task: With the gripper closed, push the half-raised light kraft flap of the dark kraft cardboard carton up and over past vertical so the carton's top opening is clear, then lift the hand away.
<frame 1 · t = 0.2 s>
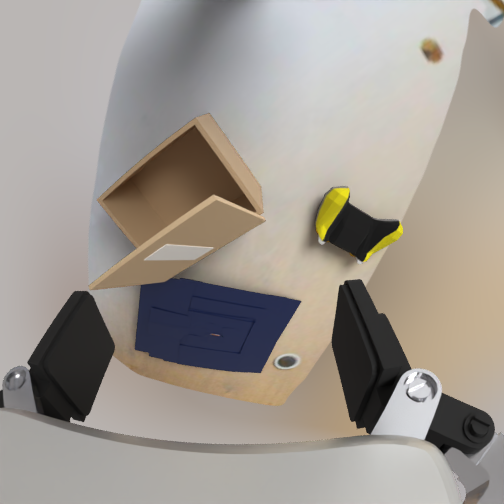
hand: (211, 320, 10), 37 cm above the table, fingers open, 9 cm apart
carton: (191, 180, 45), on the table
gaming controller: (350, 219, 49), on the table
flap: (181, 251, 31), point 17 cm above the table, hinge at 55.0°
folded navy cloth: (211, 323, 60), on the table
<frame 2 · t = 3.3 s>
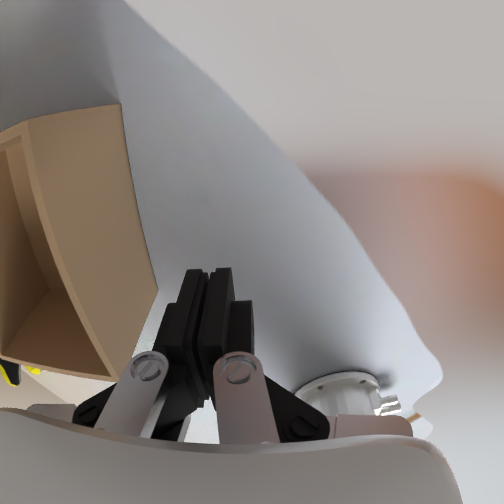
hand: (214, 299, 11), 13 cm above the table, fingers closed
carton: (71, 214, 23), on the table
gaming controller: (17, 336, 33), on the table
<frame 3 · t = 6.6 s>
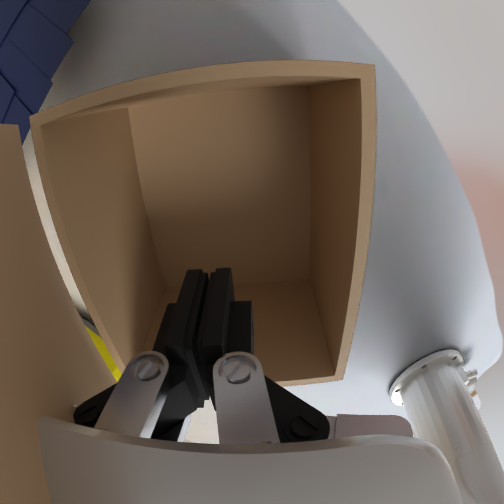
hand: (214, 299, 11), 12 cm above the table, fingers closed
carton: (225, 195, 22), on the table
gaming controller: (83, 344, 32), on the table
flap: (70, 394, 7), point 17 cm above the table, hinge at 57.6°, touching gripper
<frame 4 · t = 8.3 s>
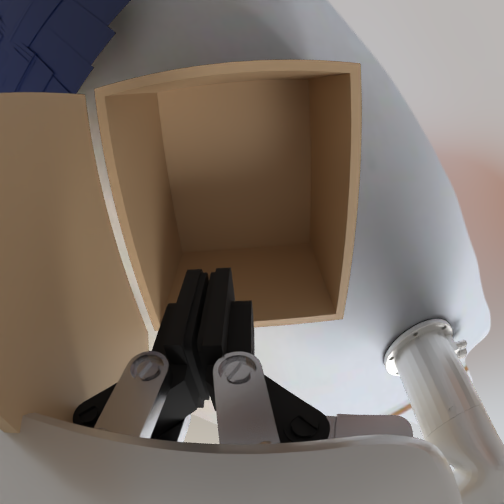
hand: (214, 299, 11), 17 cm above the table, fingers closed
carton: (239, 168, 26), on the table
flap: (87, 307, 10), point 18 cm above the table, hinge at 75.0°, touching gripper
folded navy cloth: (7, 72, 18), on the table
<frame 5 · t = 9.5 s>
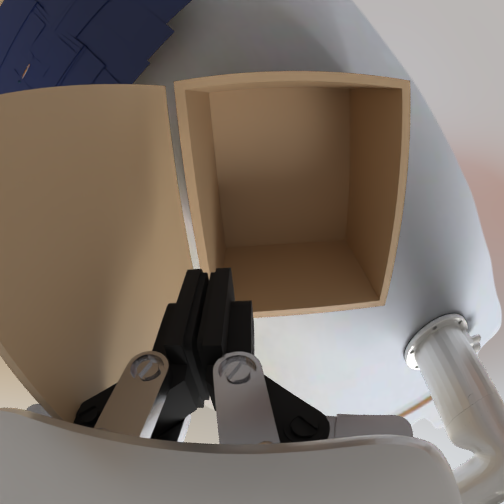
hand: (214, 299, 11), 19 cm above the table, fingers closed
carton: (284, 168, 28), on the table
flap: (140, 289, 12), point 18 cm above the table, hinge at 92.4°, touching gripper
folded navy cloth: (46, 63, 21), on the table
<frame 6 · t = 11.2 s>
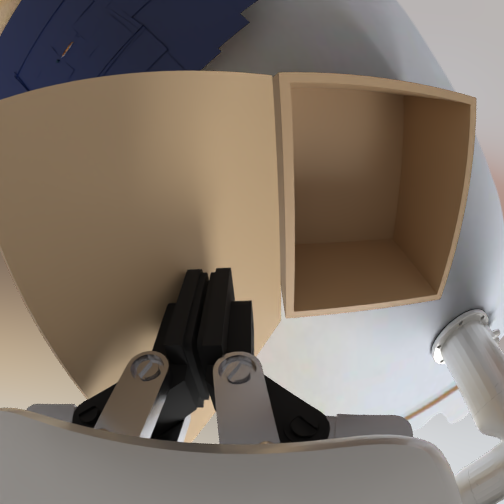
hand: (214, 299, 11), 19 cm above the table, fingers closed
carton: (342, 168, 27), on the table
flap: (204, 277, 13), point 17 cm above the table, hinge at 119.5°, touching gripper
folded navy cloth: (87, 44, 20), on the table
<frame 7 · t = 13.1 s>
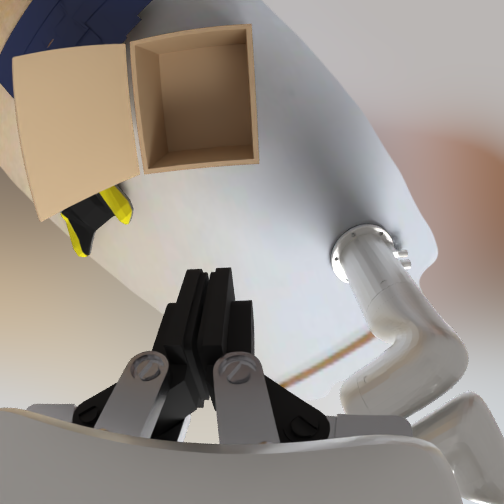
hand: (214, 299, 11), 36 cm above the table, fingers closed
carton: (205, 97, 39), on the table
gaming controller: (99, 207, 47), on the table
flap: (79, 120, 24), point 17 cm above the table, hinge at 119.6°
folded navy cloth: (63, 40, 31), on the table
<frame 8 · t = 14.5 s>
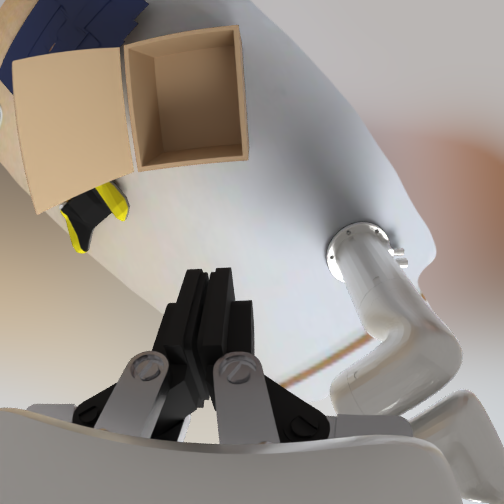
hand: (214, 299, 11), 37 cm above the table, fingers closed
carton: (199, 97, 40), on the table
gaming controller: (98, 205, 49), on the table
flap: (74, 120, 25), point 17 cm above the table, hinge at 119.6°
folded navy cloth: (64, 44, 33), on the table
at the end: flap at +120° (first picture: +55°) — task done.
